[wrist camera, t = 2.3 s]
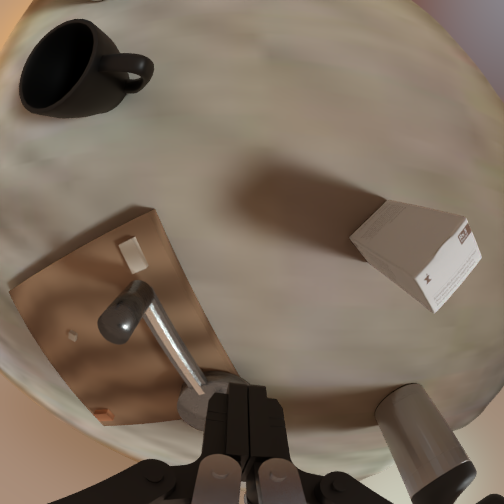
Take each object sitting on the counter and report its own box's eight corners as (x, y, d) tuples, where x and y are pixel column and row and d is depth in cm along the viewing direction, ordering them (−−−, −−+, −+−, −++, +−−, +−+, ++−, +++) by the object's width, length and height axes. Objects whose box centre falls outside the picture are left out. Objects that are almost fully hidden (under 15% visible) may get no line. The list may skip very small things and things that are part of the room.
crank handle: (266, 410, 30) (271, 464, 22) (202, 424, 31) (195, 474, 23) (183, 254, 24) (155, 294, 16) (107, 285, 25) (65, 327, 17)
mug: (161, 137, 23) (117, 122, 14) (66, 122, 22) (7, 113, 13) (188, 60, 21) (162, 13, 12) (90, 54, 20) (42, 24, 10)
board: (250, 394, 32) (250, 410, 29) (107, 417, 34) (102, 430, 31) (155, 208, 25) (144, 213, 22) (16, 286, 27) (4, 294, 24)
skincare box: (369, 264, 27) (433, 321, 16) (345, 234, 26) (410, 281, 15) (408, 226, 26) (485, 261, 15) (386, 194, 25) (467, 215, 14)
